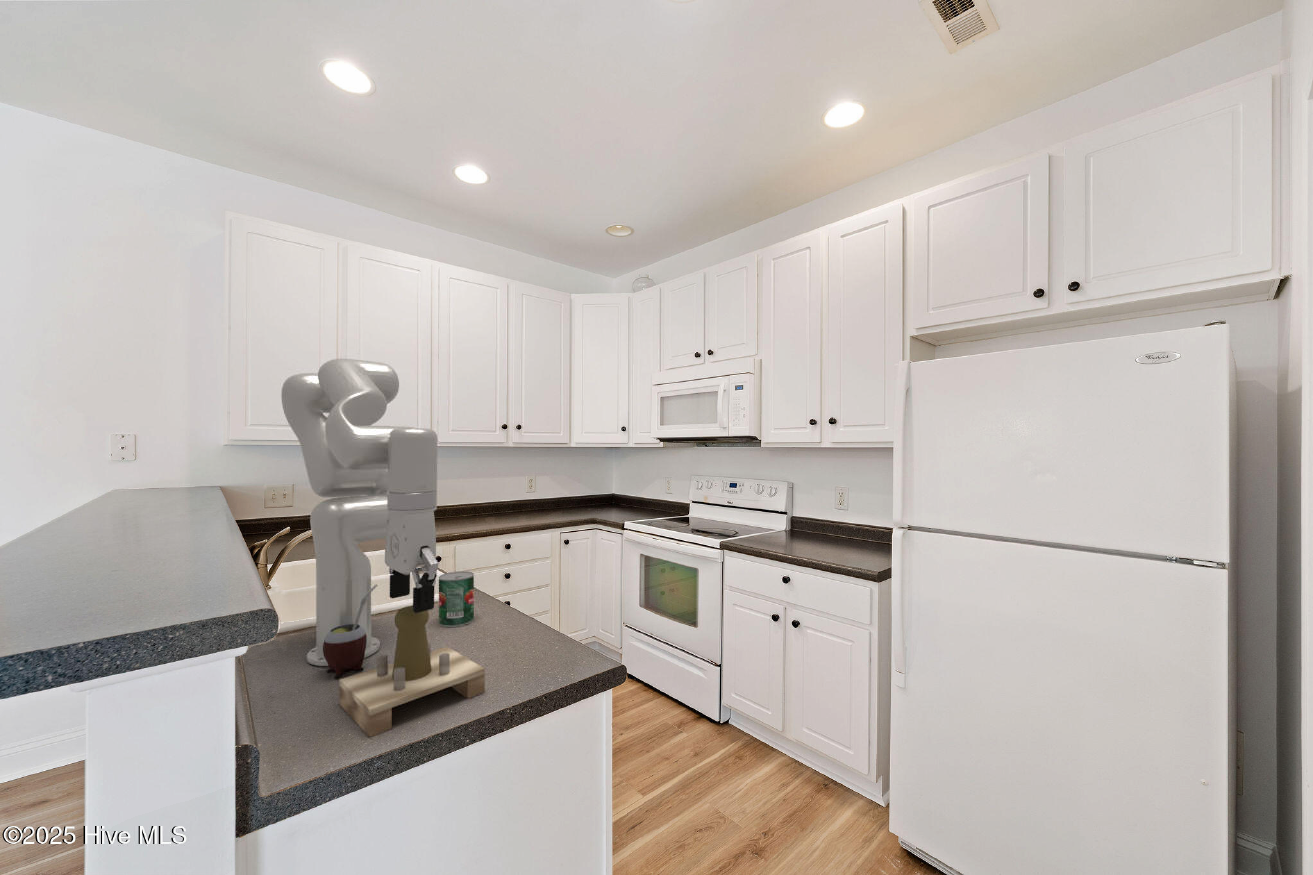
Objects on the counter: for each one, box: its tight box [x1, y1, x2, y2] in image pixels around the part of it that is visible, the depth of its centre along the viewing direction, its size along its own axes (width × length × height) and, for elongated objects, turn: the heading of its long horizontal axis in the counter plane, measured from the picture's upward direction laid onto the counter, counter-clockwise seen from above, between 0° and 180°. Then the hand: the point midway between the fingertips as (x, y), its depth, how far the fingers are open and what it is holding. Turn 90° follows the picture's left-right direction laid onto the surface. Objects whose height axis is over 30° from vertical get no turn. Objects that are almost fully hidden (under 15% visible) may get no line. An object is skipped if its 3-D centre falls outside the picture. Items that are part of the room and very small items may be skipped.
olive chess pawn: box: [392, 605, 432, 681], centre depth 86 cm, size 6×6×11 cm
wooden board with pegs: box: [338, 641, 486, 738], centre depth 86 cm, size 14×18×7 cm
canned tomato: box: [438, 570, 475, 628], centre depth 122 cm, size 8×8×11 cm
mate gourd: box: [323, 584, 378, 680], centre depth 97 cm, size 8×8×15 cm
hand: (411, 603), depth 86 cm, fingers open, 9 cm apart
